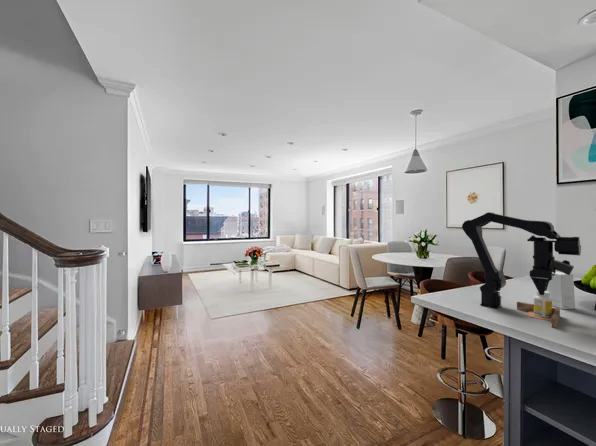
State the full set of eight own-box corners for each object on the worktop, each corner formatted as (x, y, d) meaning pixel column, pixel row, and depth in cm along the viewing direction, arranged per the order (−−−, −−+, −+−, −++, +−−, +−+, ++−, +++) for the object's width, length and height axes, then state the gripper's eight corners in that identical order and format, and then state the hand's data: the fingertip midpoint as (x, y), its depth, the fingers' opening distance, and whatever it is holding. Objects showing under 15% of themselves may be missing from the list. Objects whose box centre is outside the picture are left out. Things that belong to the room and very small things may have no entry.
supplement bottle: (534, 316, 108) (534, 291, 108) (532, 312, 112) (533, 289, 112) (552, 319, 105) (553, 293, 105) (550, 315, 109) (550, 290, 109)
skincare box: (575, 309, 117) (575, 274, 117) (561, 309, 116) (562, 274, 116) (556, 303, 125) (556, 270, 125) (543, 303, 125) (543, 270, 125)
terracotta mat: (526, 316, 109) (526, 315, 109) (529, 311, 114) (529, 310, 114) (553, 321, 103) (553, 320, 103) (555, 316, 108) (555, 315, 108)
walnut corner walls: (509, 318, 106) (509, 310, 106) (517, 308, 118) (517, 301, 118) (556, 328, 97) (556, 319, 97) (559, 316, 108) (559, 308, 108)
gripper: (570, 257, 96) (570, 302, 96) (573, 252, 109) (573, 292, 109) (529, 254, 104) (529, 295, 104) (536, 250, 117) (536, 287, 117)
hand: (543, 292), depth 108 cm, fingers open, 9 cm apart
